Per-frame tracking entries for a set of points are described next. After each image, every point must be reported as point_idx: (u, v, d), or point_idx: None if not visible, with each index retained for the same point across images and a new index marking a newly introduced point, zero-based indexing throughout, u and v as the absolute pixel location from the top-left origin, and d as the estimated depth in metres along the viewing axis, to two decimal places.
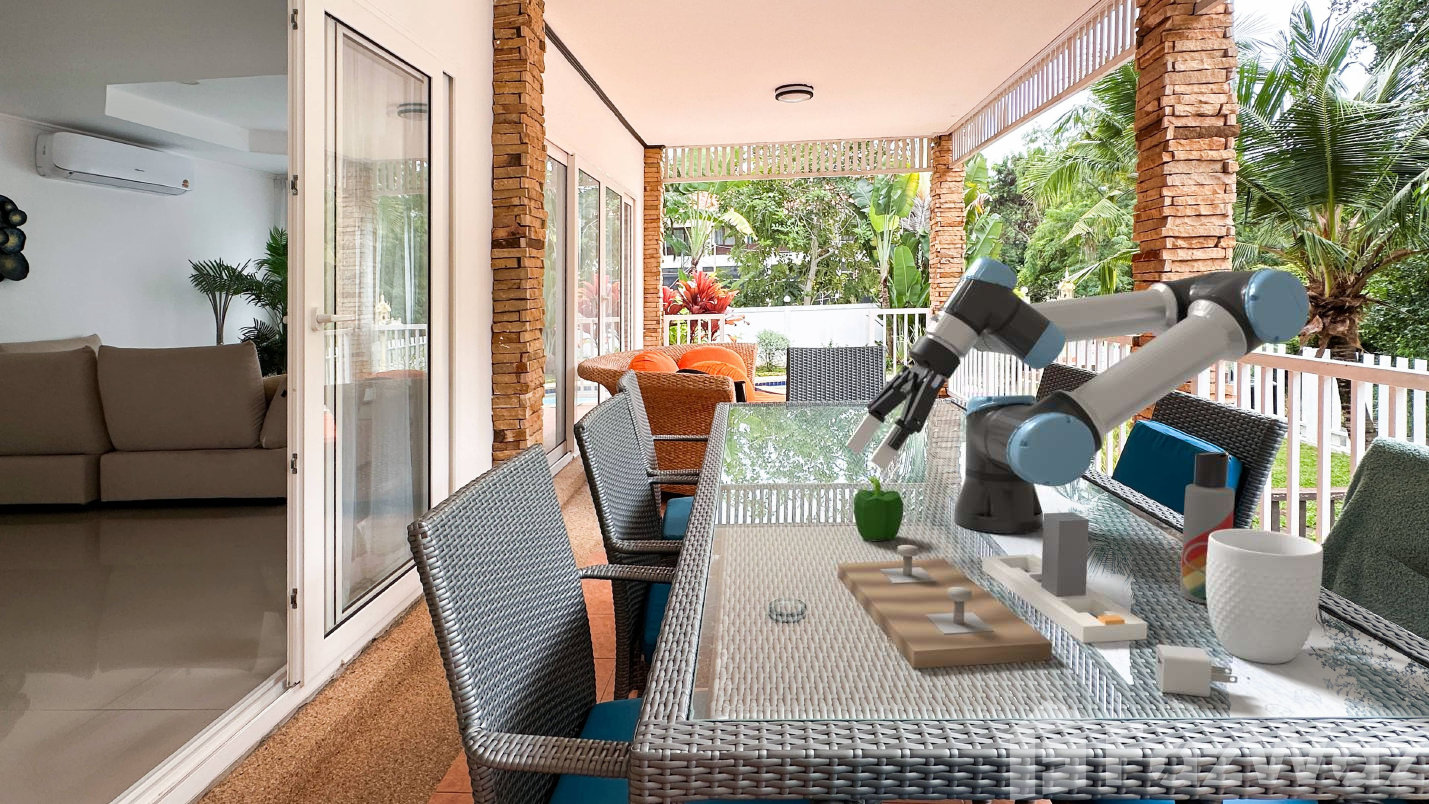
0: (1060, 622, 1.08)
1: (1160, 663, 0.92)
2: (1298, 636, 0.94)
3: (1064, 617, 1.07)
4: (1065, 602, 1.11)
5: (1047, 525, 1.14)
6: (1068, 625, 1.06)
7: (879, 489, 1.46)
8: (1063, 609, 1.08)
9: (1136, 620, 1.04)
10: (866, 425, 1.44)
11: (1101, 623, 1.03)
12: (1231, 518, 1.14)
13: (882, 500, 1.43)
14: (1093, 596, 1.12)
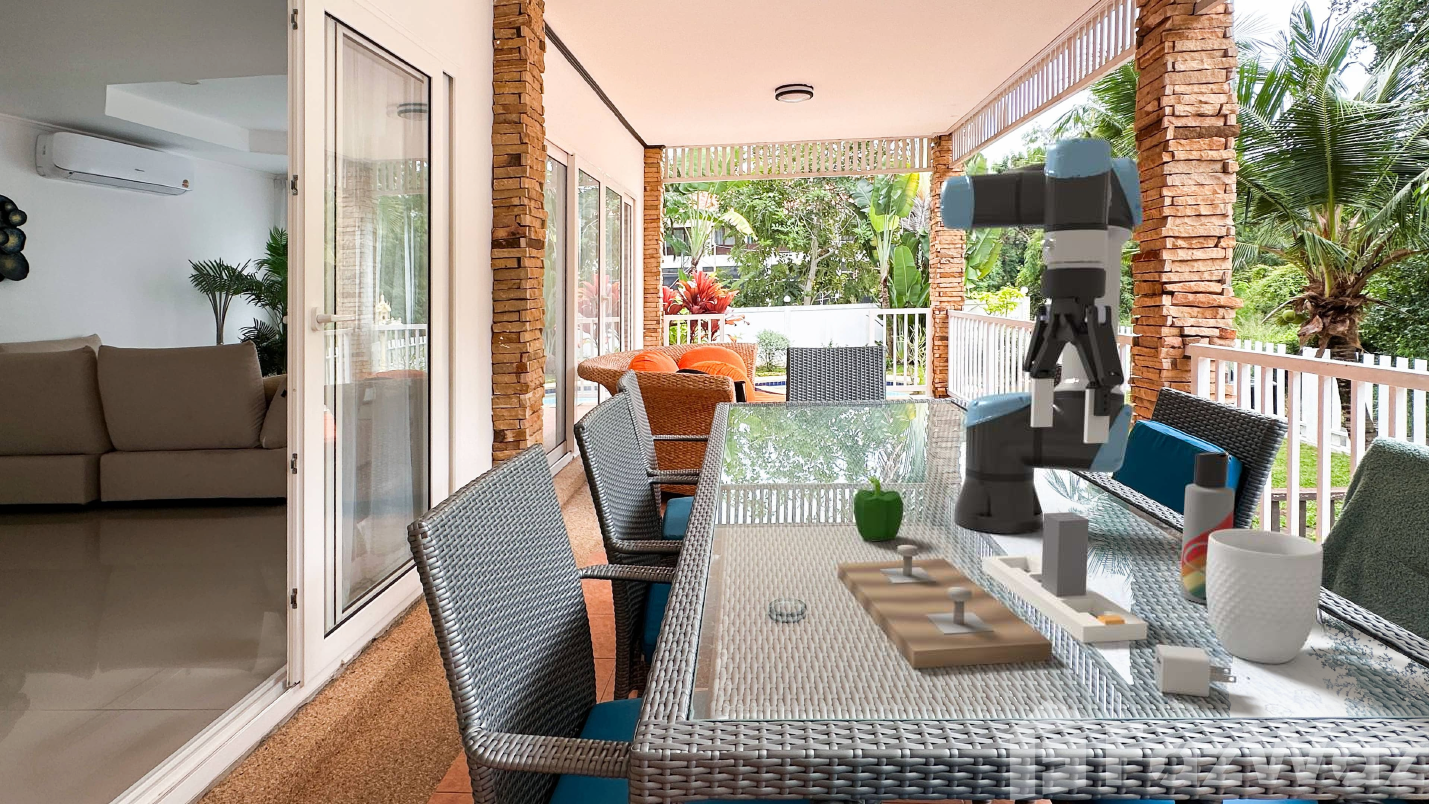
0: (1060, 622, 1.08)
1: (1159, 663, 0.92)
2: (1298, 636, 0.94)
3: (1064, 617, 1.07)
4: (1065, 602, 1.11)
5: (1047, 525, 1.14)
6: (1068, 625, 1.06)
7: (879, 489, 1.46)
8: (1063, 609, 1.08)
9: (1136, 620, 1.04)
10: (1040, 392, 1.18)
11: (1101, 623, 1.03)
12: (1231, 518, 1.14)
13: (882, 500, 1.43)
14: (1093, 596, 1.12)
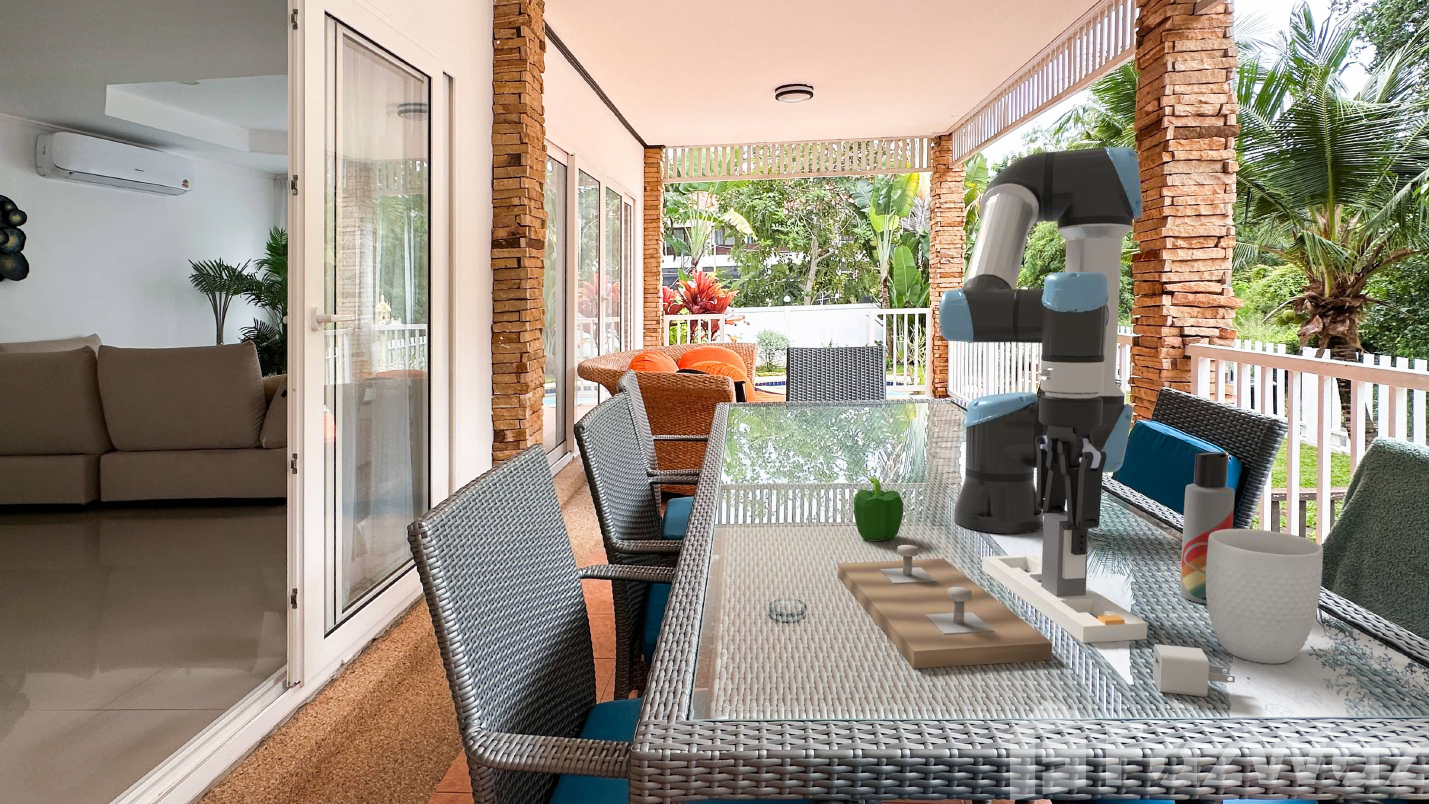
0: (1060, 622, 1.08)
1: (1158, 663, 0.92)
2: (1298, 636, 0.94)
3: (1064, 617, 1.07)
4: (1065, 602, 1.11)
5: (1047, 525, 1.14)
6: (1068, 625, 1.06)
7: (879, 489, 1.47)
8: (1063, 609, 1.08)
9: (1136, 620, 1.04)
10: None
11: (1101, 623, 1.03)
12: (1231, 518, 1.14)
13: (882, 500, 1.43)
14: (1093, 596, 1.12)
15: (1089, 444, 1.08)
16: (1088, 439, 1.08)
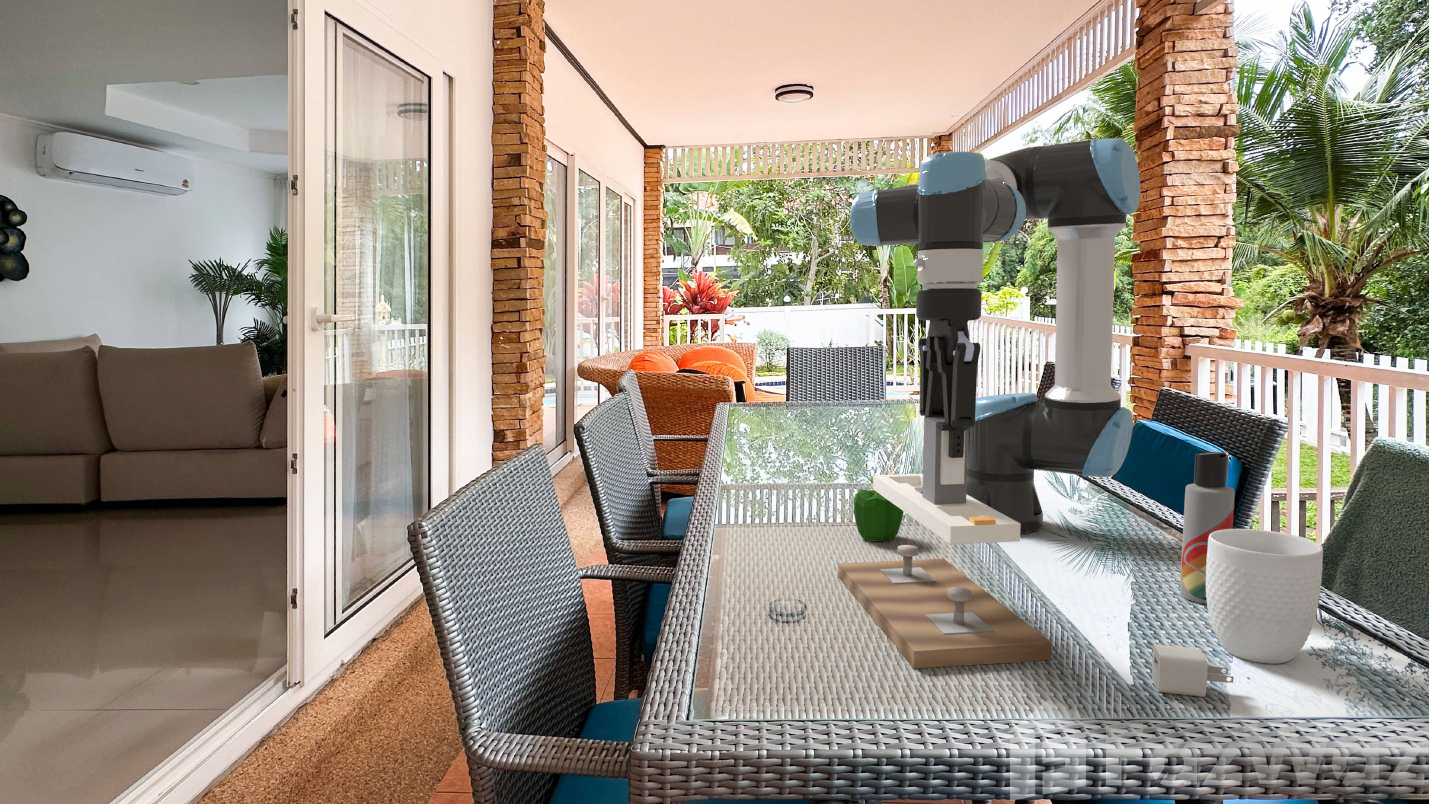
0: (932, 527, 1.00)
1: (1156, 663, 0.92)
2: (1298, 636, 0.94)
3: (935, 521, 0.99)
4: (942, 509, 1.04)
5: (926, 430, 1.07)
6: (939, 528, 0.98)
7: None
8: (936, 513, 1.01)
9: (1009, 521, 0.97)
10: None
11: (970, 524, 0.96)
12: (1231, 518, 1.14)
13: (882, 500, 1.43)
14: (973, 504, 1.05)
15: (964, 337, 1.01)
16: (964, 332, 1.01)
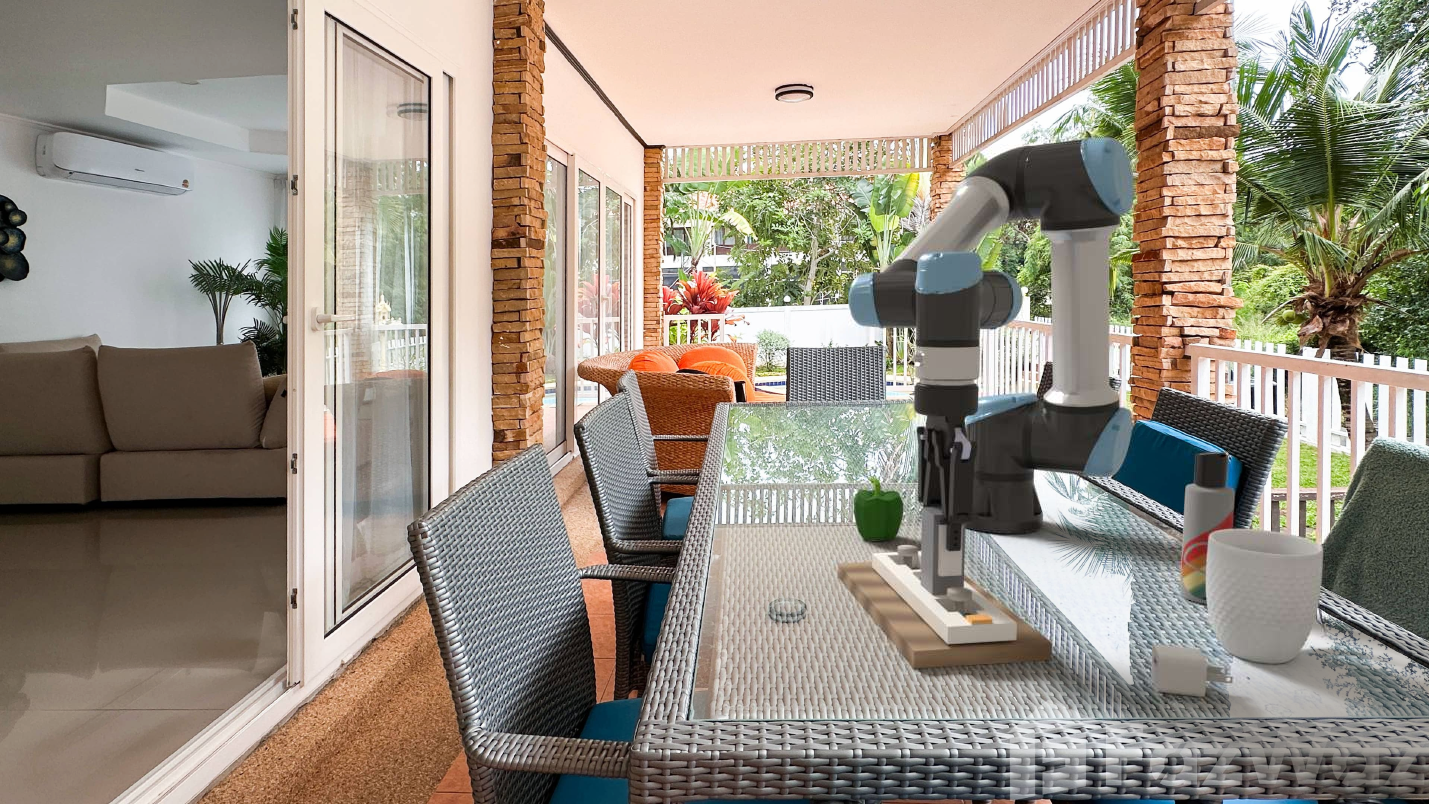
0: (930, 622, 1.02)
1: (1156, 663, 0.92)
2: (1298, 636, 0.94)
3: (933, 617, 1.01)
4: (940, 601, 1.05)
5: (924, 520, 1.08)
6: (936, 625, 1.00)
7: (879, 489, 1.46)
8: (934, 608, 1.02)
9: (1006, 620, 0.98)
10: None
11: (967, 623, 0.97)
12: (1231, 518, 1.14)
13: (882, 500, 1.43)
14: None
15: (961, 434, 1.02)
16: (961, 428, 1.03)
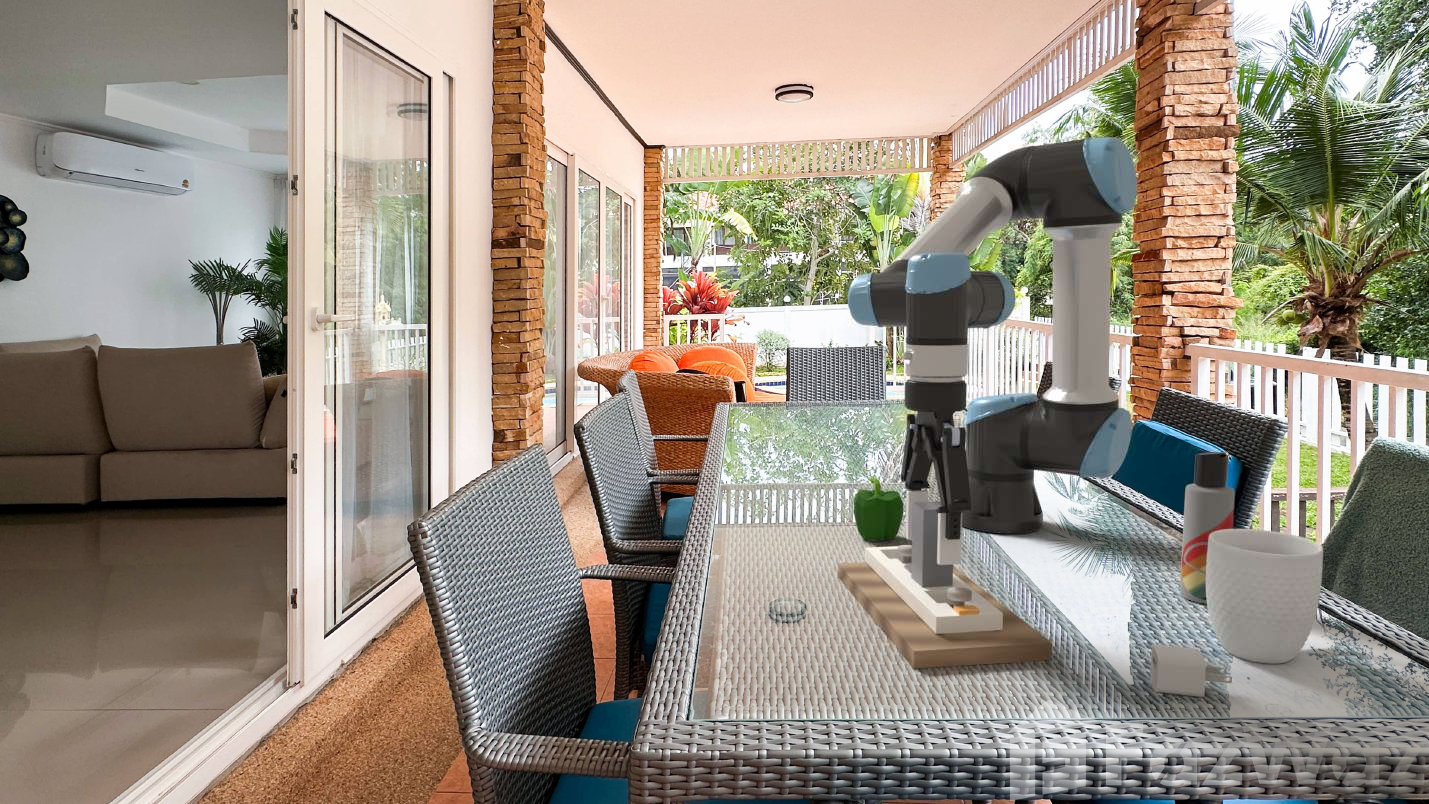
0: (920, 613, 1.05)
1: (1155, 663, 0.92)
2: (1298, 636, 0.94)
3: (922, 608, 1.04)
4: (929, 593, 1.09)
5: (914, 515, 1.12)
6: (925, 616, 1.03)
7: (879, 489, 1.47)
8: (923, 599, 1.06)
9: (993, 610, 1.02)
10: None
11: (955, 614, 1.01)
12: (1231, 518, 1.14)
13: (882, 500, 1.43)
14: None
15: (949, 425, 1.06)
16: (949, 422, 1.06)
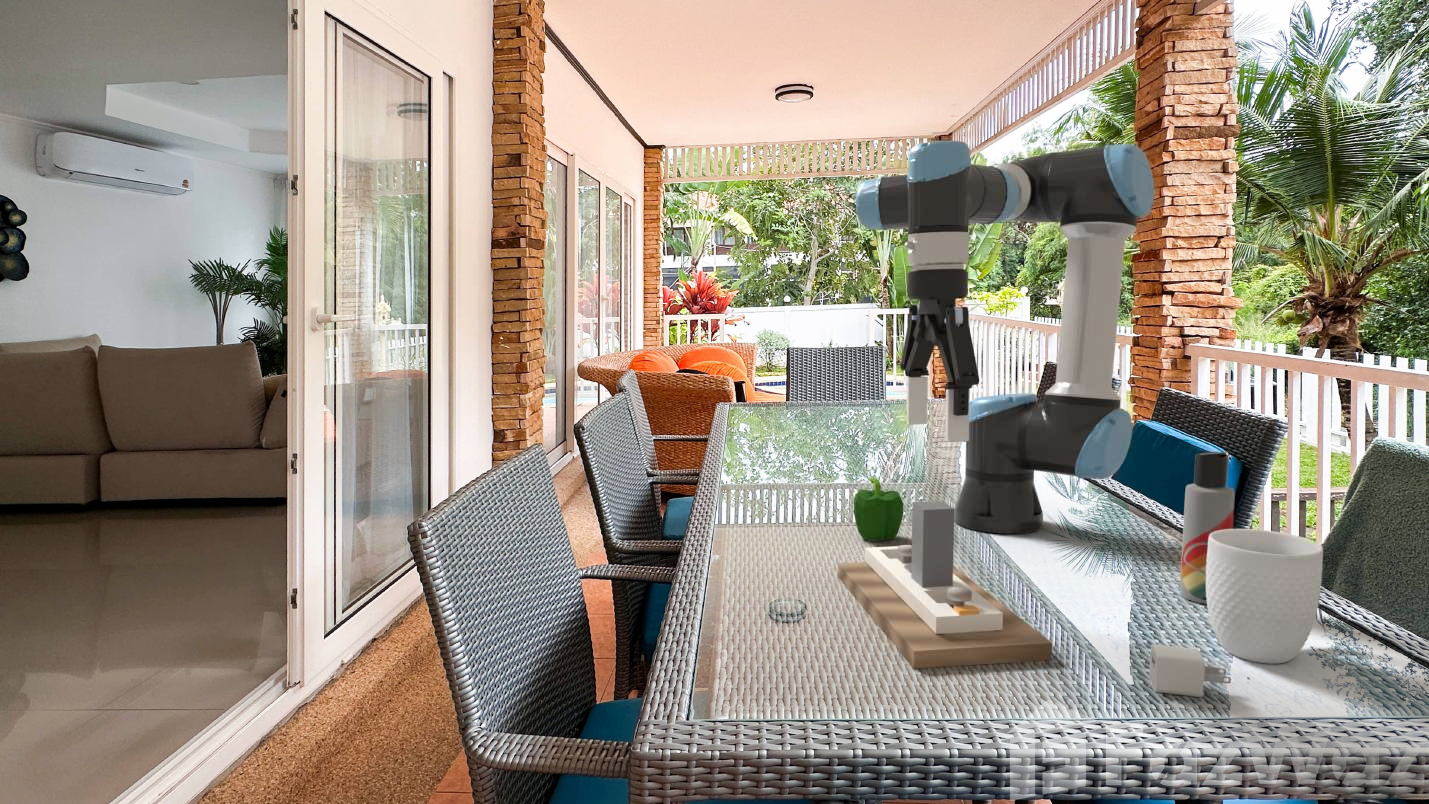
0: (920, 613, 1.05)
1: (1154, 663, 0.92)
2: (1298, 636, 0.94)
3: (922, 608, 1.04)
4: (929, 593, 1.09)
5: (914, 515, 1.12)
6: (925, 616, 1.03)
7: (879, 489, 1.47)
8: (923, 599, 1.06)
9: (993, 610, 1.02)
10: (914, 391, 1.20)
11: (955, 614, 1.01)
12: (1231, 518, 1.14)
13: (882, 500, 1.43)
14: None
15: None
16: None
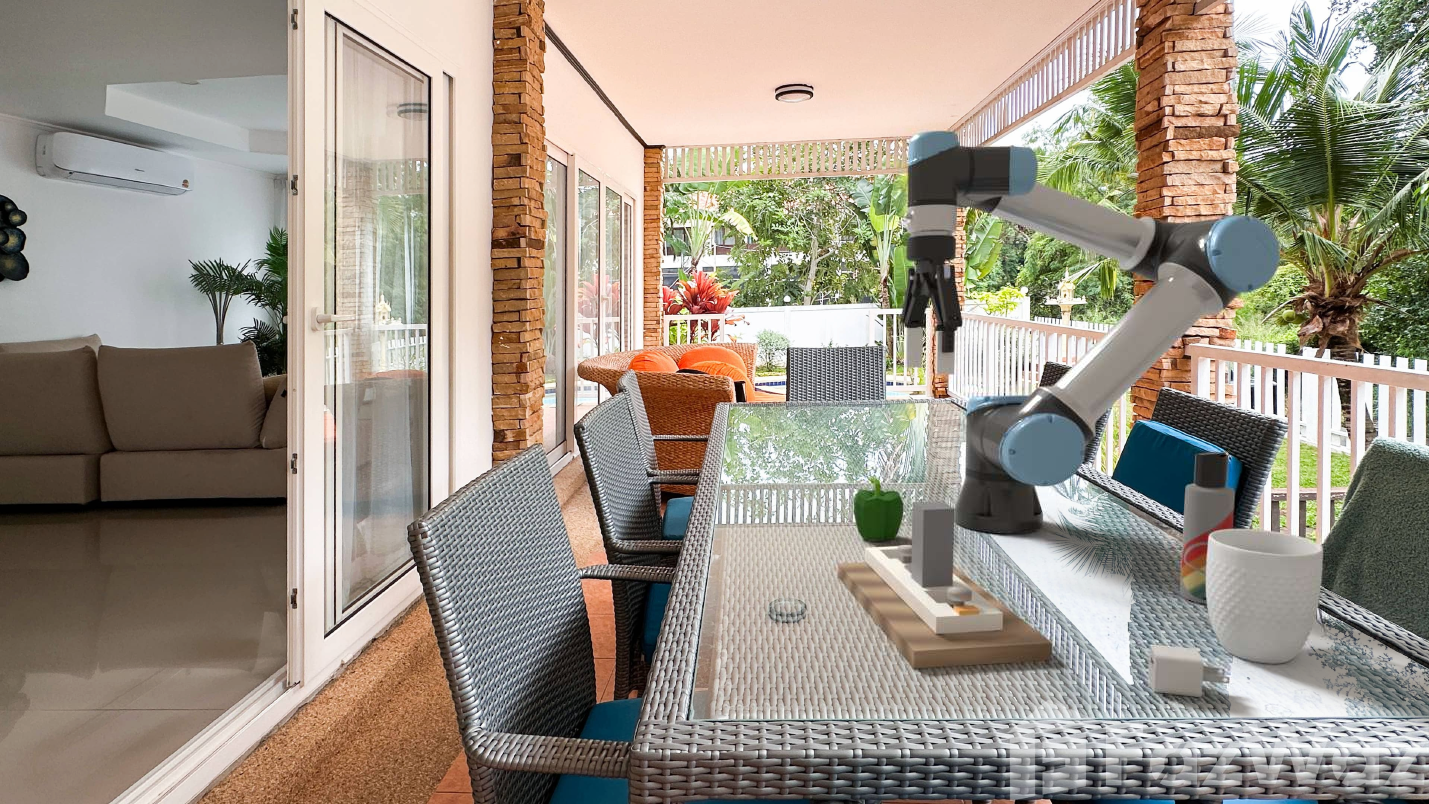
0: (920, 613, 1.05)
1: (1153, 663, 0.92)
2: (1298, 636, 0.94)
3: (922, 608, 1.04)
4: (929, 593, 1.09)
5: (914, 515, 1.12)
6: (925, 616, 1.03)
7: (879, 489, 1.46)
8: (923, 599, 1.06)
9: (993, 610, 1.02)
10: (911, 339, 1.45)
11: (955, 614, 1.01)
12: (1231, 518, 1.14)
13: (882, 500, 1.43)
14: None
15: None
16: None
